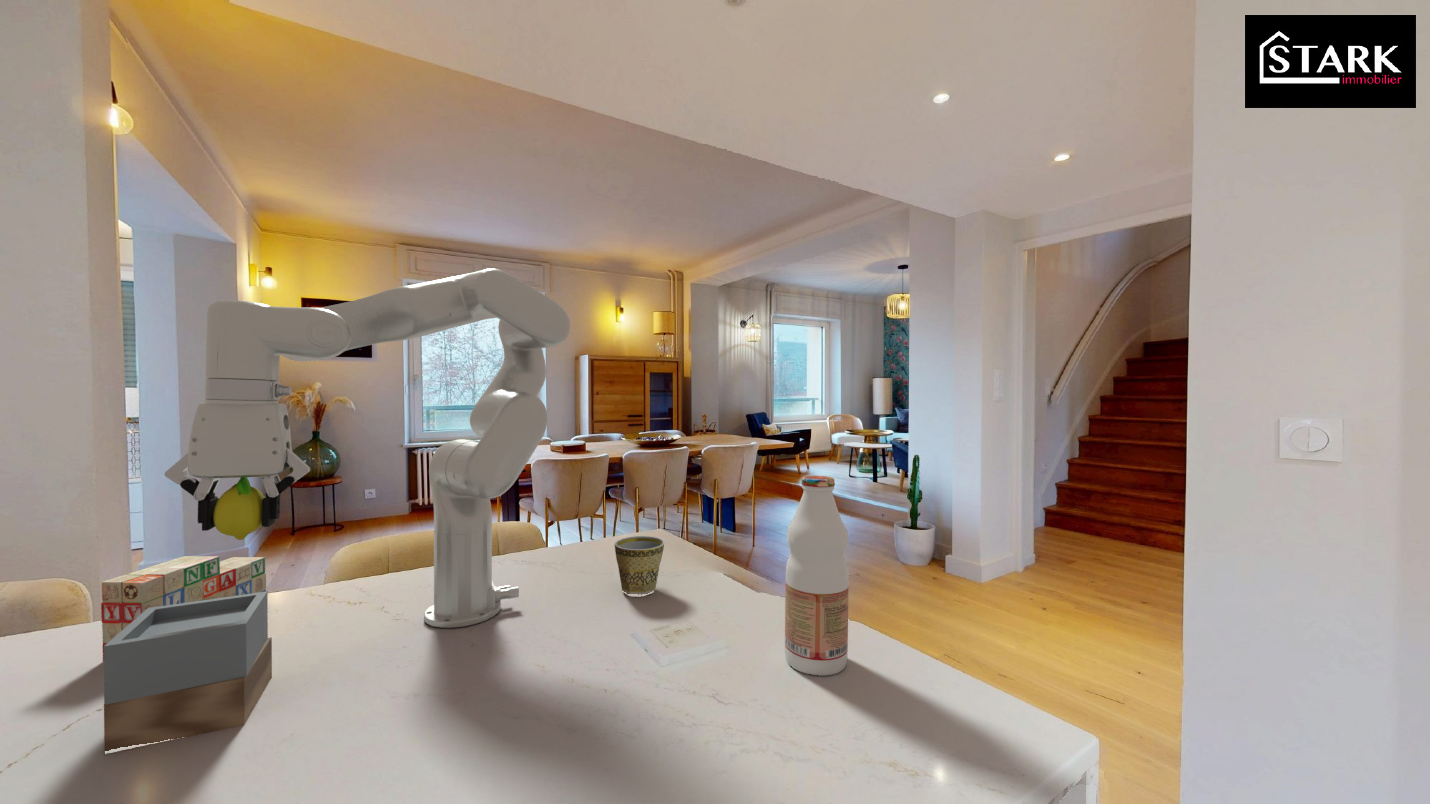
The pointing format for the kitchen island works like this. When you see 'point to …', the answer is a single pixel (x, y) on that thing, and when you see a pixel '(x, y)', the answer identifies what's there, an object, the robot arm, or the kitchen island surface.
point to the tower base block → (188, 708)
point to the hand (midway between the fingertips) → (239, 525)
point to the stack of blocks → (177, 587)
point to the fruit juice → (817, 583)
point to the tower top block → (185, 646)
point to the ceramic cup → (639, 563)
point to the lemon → (239, 510)
